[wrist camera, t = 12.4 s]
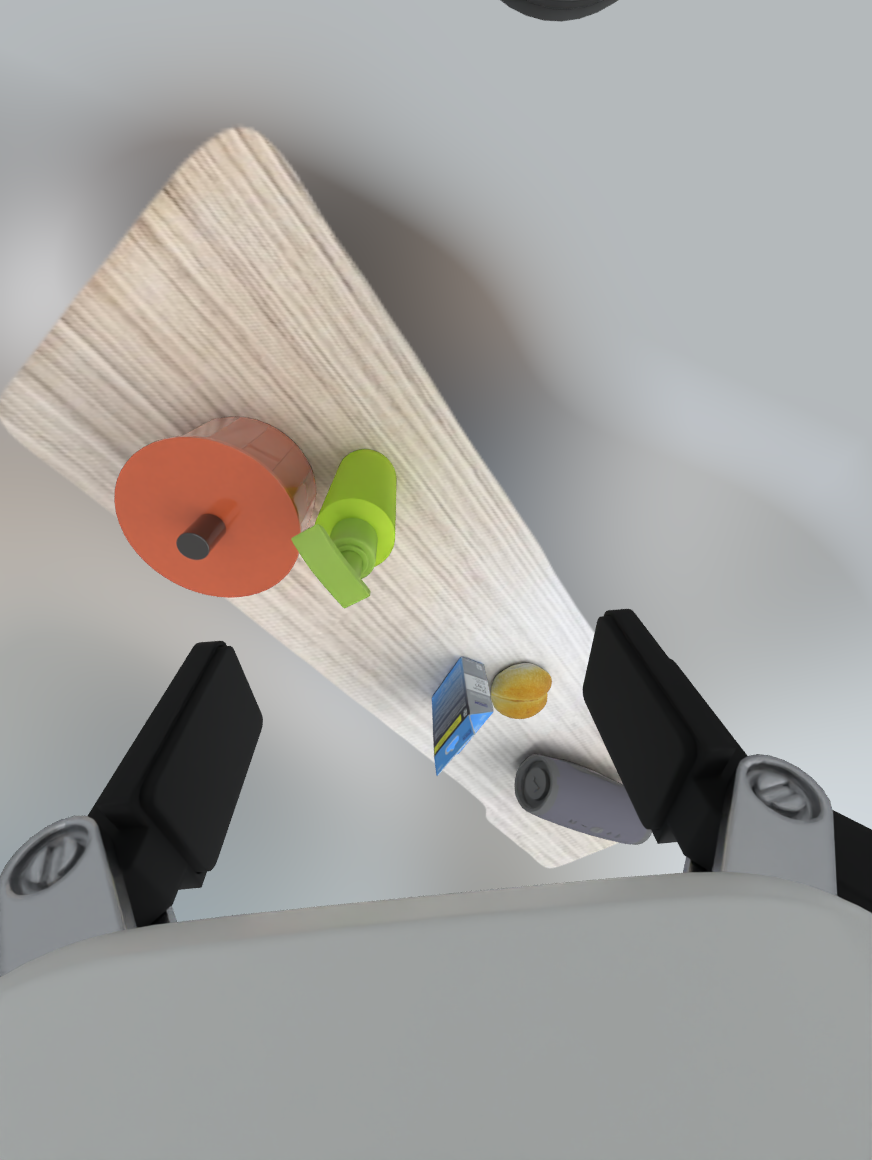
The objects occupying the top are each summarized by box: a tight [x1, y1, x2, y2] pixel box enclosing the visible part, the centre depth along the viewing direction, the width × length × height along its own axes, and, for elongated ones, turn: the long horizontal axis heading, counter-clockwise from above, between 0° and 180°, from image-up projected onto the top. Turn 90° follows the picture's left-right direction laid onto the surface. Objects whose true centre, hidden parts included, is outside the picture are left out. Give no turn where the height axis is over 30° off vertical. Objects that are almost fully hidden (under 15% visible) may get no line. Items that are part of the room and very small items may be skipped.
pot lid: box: [115, 436, 302, 597], centre depth 31 cm, size 14×14×5 cm
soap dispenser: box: [291, 449, 396, 608], centre depth 33 cm, size 6×7×20 cm
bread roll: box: [490, 663, 552, 719], centre depth 57 cm, size 8×9×4 cm
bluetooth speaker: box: [515, 754, 652, 845], centre depth 67 cm, size 23×9×10 cm, turn 57°
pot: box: [182, 417, 316, 532], centre depth 37 cm, size 13×13×10 cm
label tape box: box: [432, 657, 493, 776], centre depth 52 cm, size 9×4×12 cm, turn 153°
